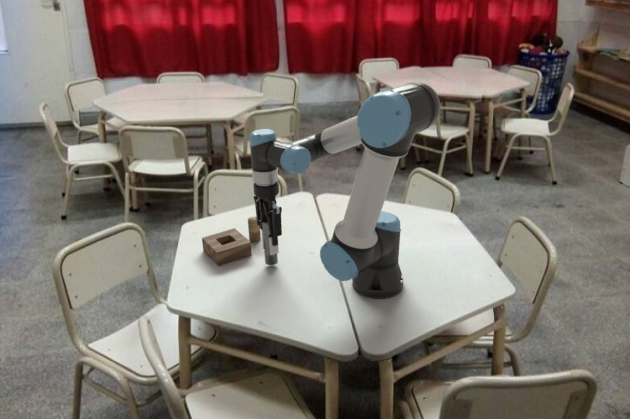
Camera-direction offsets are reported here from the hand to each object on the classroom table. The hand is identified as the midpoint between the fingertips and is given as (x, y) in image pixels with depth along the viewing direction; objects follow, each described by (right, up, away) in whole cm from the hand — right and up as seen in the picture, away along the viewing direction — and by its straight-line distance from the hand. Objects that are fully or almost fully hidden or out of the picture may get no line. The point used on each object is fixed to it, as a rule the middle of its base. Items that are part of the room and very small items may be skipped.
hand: (270, 250), depth 173 cm
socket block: (-15, -2, +10) cm, 18 cm away
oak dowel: (-7, +2, +18) cm, 20 cm away
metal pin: (0, -4, +2) cm, 4 cm away
